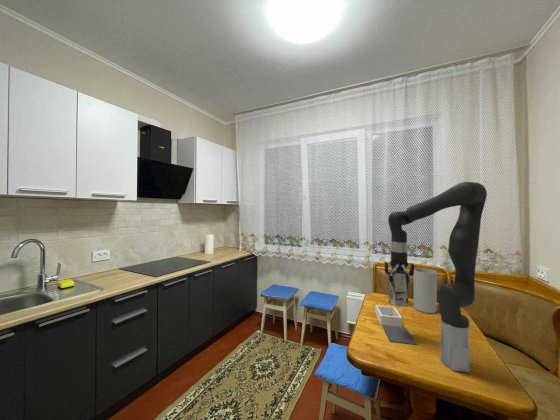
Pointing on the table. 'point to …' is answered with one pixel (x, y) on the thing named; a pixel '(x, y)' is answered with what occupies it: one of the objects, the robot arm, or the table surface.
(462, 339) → the robot arm
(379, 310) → the sleeve box
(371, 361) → the table surface
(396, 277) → the coffee box
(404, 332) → the rubber mat
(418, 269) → the cylinder vase
